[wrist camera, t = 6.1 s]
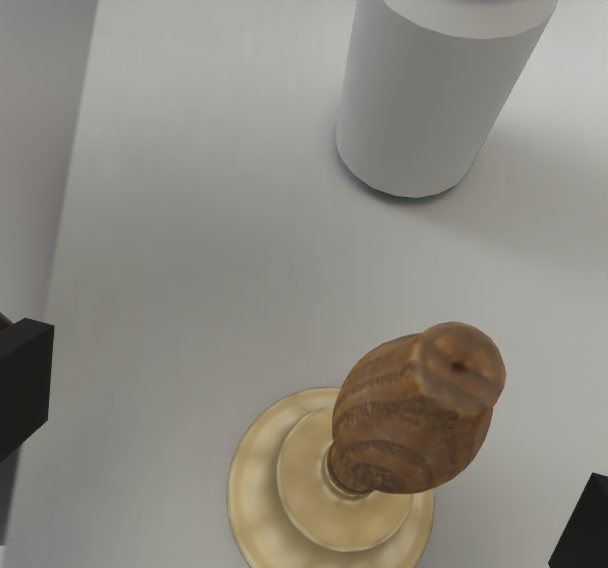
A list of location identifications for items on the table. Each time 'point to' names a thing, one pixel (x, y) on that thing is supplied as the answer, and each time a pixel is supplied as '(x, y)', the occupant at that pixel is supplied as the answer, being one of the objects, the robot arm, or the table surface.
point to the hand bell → (364, 454)
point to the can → (430, 86)
